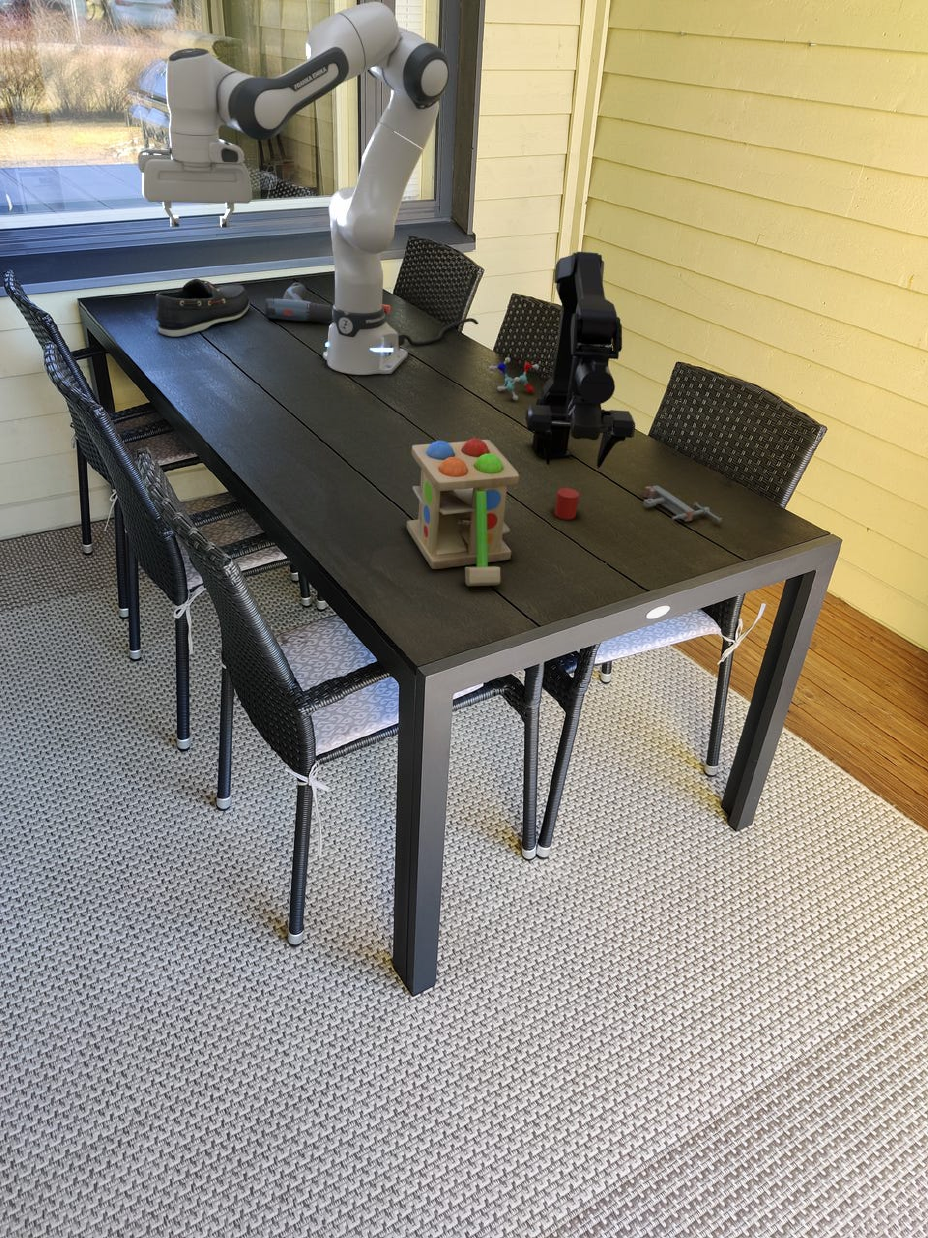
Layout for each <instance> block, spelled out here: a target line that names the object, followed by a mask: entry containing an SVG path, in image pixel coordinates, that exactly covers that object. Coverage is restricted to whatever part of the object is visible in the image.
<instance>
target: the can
mask: <svg viewBox="0 0 928 1238" xmlns="http://www.w3.org/2000/svg"><path fill="white" fill-rule="evenodd" d="M579 498H580V493H579V492H578V490H576V489H573V488H570V487H561V488H559V489H558V490H557V492H556V499H555V505H554V516H555V517H556V518H559V519H561V520H573V519H575V518H576V516H577V511H578V510H577V509H578V503H579Z"/></svg>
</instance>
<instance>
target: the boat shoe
mask: <svg viewBox="0 0 928 1238" xmlns="http://www.w3.org/2000/svg"><path fill="white" fill-rule="evenodd" d="M155 299H156V317H155V320H156V321H157V322H158V324H157V326H158V332H159V333H160V334H161V335H163V336H167V337H183V336H187V335H189V334H190V335H191V334H193V333H197V332H200V331H204V330H206V329H208V328H209V327H210V326H212V325H214V324H218V323H222V322H228V321H234V320H237V319H239V318H241V317H242V316H244V315H245V314H246V313H247V312H248V310H249V308H250V299H249V295H248V292H247V290H246V289H245V287H244V286H243V285H242V284H239V283H231V284H226V285H221V286H217V287H216V286H215V284H214V283H212V282H210V281H208V280H205V279H200V278H193V279H191V280H189V281H187V282H185V284H184V285H183V286H182V287H181V289H180V290H176V291H170V292H169V291H168V292H167V291H165V292H159V293H157V294H156V295H155Z"/></svg>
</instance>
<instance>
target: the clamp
mask: <svg viewBox="0 0 928 1238" xmlns="http://www.w3.org/2000/svg"><path fill="white" fill-rule="evenodd" d="M643 498H647V499H644V500H643V506H644V507H646V508H651V507H656V505H659V504H660V505H662V507H664V508H665V509H668V511H670V512H671V513H673V514H674V516H672V517H671V520H673V521H674V520H680V519H681V520H683V521H684V522H691V521H693V516H697V515H702V516H704V515H709V516H710V517H712V518H713V519H715V520H716V521H717V523H719V524H721V523H722V522H723V518H722V517H719V516H717V515H715V514H714V513H712V512H711V508H710V507H708V506H705V507H703V506H701V505H699V503H698V502H697V501H695V502H694V503H693V507H694V508H698V510H695V509H693V508H692V507H691V506H689V505H687V504H686V503H685V502H683V501H682V500H680V499H679V498H677V497H676V496H674V495H673V494H671V493H670V492H669V491H667V490H666V489H664V488H663V487H660V486H659V485H657V484H656V485H653V486H650V485H649V486H645V487H644V492H643Z"/></svg>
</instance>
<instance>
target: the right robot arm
mask: <svg viewBox="0 0 928 1238" xmlns="http://www.w3.org/2000/svg"><path fill="white" fill-rule="evenodd" d="M604 273H605V261H604V260H603V255H602V254H599V252H591V251H576V252H572V254H571V255H568V256H564V257H560V258H559V259H558V261H557V262H556V264H555V268H554V275H553V282H554V284H555V289H556V292H557V295H558V299H559V300H560V303H561V309H560V315H559V323H558V330H557V337H556V343H555V351H554V357H553V365H552V372H551V376H550V377H549V378H548V380H547V381H546V382H545V383H544V384H543V386H542V388H541V393H540V397H538V398H537V400H536V402H535V404H529V405H528V406H527V407H526V410H525V423H526V428H527V430H528V431H530V432H533V435H532V436H533V438H532V442H531V444H530V446H531V448H532V449H533V450H534V451H535V453H536V454H537V455H538V456H539V458H541V459H545V462H546V465H548V466H549V465H550V462H551V459H557V458H558V459H559V458H570V456H571V454H570V452H569V451H568V447H569V442H570V441H569V440H570V436H571V437H572V438H573V439H574V440H581V439H582V440H590V441H597V440H599V438H600V435H601V434H602V437H601V440H600V446H599V450H598V454H597V459H596V460H597V461H596V467H597V469H600V468H601V467H602V465H603V463H604V462H605V460H606V458H607V456H608V455H609V453H610V452H611V450H613V448H614V446H615V445H616V444H618V443H619V442H624V441H626V439H627V438H630V439H632V438H634V437H635V434H636V433H635V432H636V422H635V419H634V417H633V415H632V413H631V412H630V411H628V410H616V409H615V410H614V409H610V410H606V409H602V404H605V403H606V402H607V401H610V399H611V398H612V396H613V395H614V392H615V390H616V385H615V380H614V378H613V376H612V373H611V371H610V368H609V361H610V359H611V360H619V356H620V355H619V354H620V353H621V351H622V349H623V325H622V323H621V317H620V316H618V314H617V310H616V307H615V304H614V303H612V302H611V301H610V300H608V299H607V298H606V294H605V289H604ZM600 345H601V346H600ZM611 345H612V346H611Z"/></svg>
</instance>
